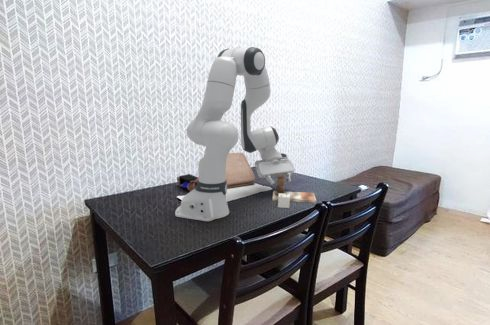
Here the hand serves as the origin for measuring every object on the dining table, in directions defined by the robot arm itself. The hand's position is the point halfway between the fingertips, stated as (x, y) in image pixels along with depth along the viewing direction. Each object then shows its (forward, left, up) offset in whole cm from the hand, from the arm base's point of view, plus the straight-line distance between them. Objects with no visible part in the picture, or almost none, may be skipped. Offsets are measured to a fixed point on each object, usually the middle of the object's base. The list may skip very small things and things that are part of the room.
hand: (281, 182), depth 144 cm
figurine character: (-49, +6, -8) cm, 50 cm away
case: (-28, +22, -8) cm, 36 cm away
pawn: (0, +1, -6) cm, 6 cm away
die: (+1, -11, -8) cm, 13 cm away
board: (+6, +1, -7) cm, 10 cm away
